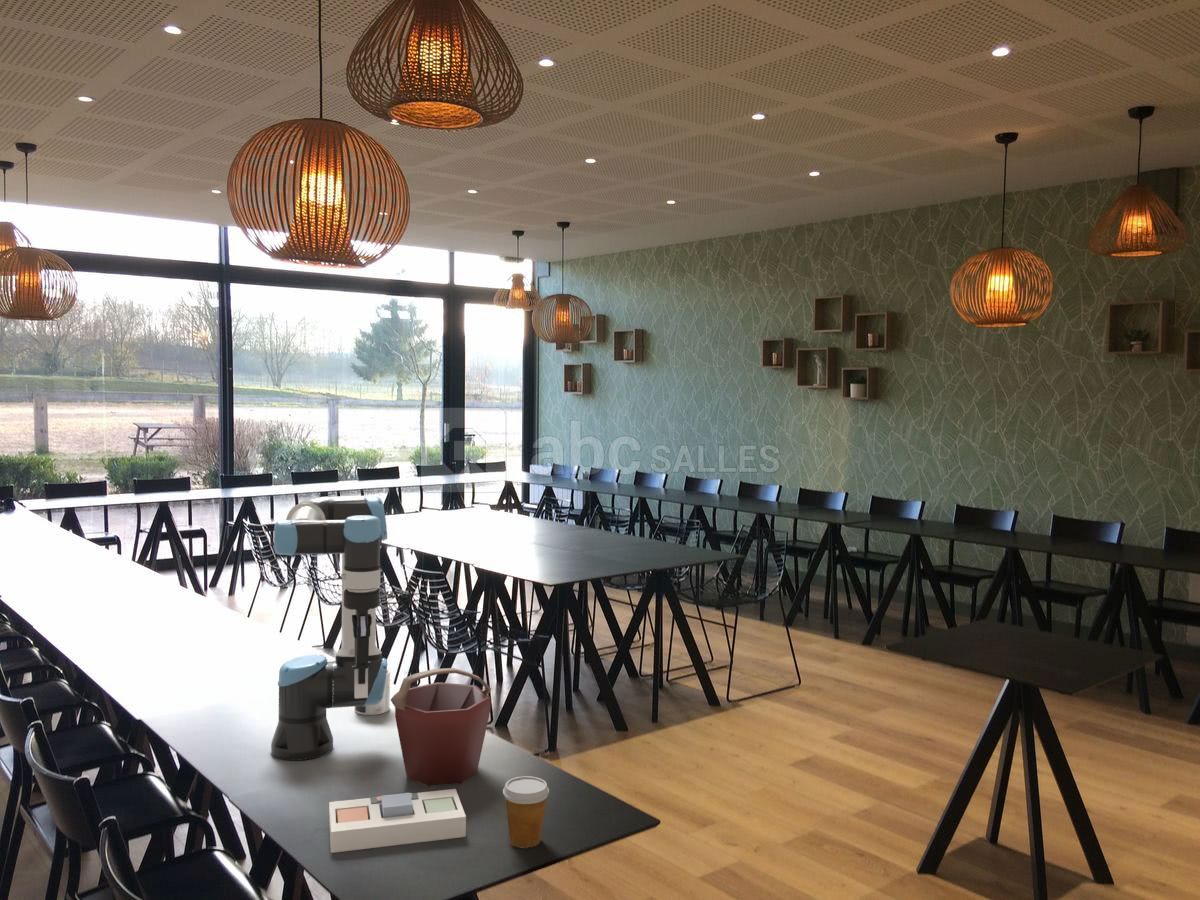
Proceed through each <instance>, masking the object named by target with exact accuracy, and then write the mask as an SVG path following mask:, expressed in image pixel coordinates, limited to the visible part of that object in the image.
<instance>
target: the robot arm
mask: <svg viewBox="0 0 1200 900" xmlns="http://www.w3.org/2000/svg"><path fill="white" fill-rule="evenodd" d="M386 519H387V518H386V513H385V507H384V503H383V500H382V499H381V498H380V497H379V496H374V495H373V496H371V495H354V496H353V495H351V496H350V495H349V496H348V495H345V496H343V495H342V496H341V495H340V496H338V495H337V496H335V495H334V496H330V495H329V496H327V495H326V496H316V497H312V498H309V499H307V500H304V501H301V502H299V503H297V504H295V506H293V507H292V508H290V510H289V511H288V513H287V516H286V519H285V520H278V521H276V522H275V524H274V526H273V527H274V528H273V548H274V552H275V554H276V555H279V556H280V555H281V556H284V555H285V556H297V555H300V556H301V555H321V554H322V555H335V554H336V555H337V554H338V555H340V554H341V574H340V578H341V647H340V649H338V650H337V652H336V653H335V661H334V660H333V661H328V658H327V656H326V655H323V654H309V655H302V656H298V657H295V658H292V659H290V660H288V661H286V662H284V663H283V664H282V665H281V666H280V668H279V671H278V681H277V686H278V722H277V726H276V727H275V728H276V729H275V731H274V733H273V737H272V740H271V744H270V752H271V754H272V756H274V757H275V758H277V759H280V760H284V761H285V760H286V761H303V760H311V759H315V758H319V757H323V756H325V755H327V754H328V753H330V752H331V751H332V750H333V748H334V737H333V734H332V730H331V728H330V724H329V721H328V718H327V709H335V708H336V709H337V708H338V709H339V708H349V707H351V708H352V707H355V706H362V707H364V706H368V705H376V704H378V703H380V702H381V700H382V698H383V694H384V689H385V682H386V674H387V669H388V659H387V658H385V657H383V655H382V651H381V650H380V649H379V648H378V647H377V645H376V644H377V643H376V639H377V638H376V637H377V629H376V626H377V624H376V623H377V622H376V620H377V612H376V611H377V609H376V608H378V607H380V605H381V604H380V603H381V591H380V589H379V588H380V587H381V548H382V544H383V543H382V541H386V540H387V539H388V529H387V528H388V527H387V526H388V525H387V520H386Z"/></svg>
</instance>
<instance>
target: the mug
mask: <svg viewBox="0 0 1200 900" xmlns="http://www.w3.org/2000/svg"><path fill="white" fill-rule="evenodd" d="M390 685H391V671H390V669H389V668H387V674H386V682H385V689H384V694H383V698H382V700H381V702H380V703H378V704H376V705H368V706H364V707H362V706H354V712H355V713H356V714H359V715H363V716H376V715H377V716H378V715H381V714H384V713H387V712H388V711H389V710H390V706H391V705H390V703H391V702H390V701H391V697H390V696H391V695H390V694H391V692H390V691H391V687H390Z"/></svg>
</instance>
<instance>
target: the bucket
mask: <svg viewBox="0 0 1200 900" xmlns="http://www.w3.org/2000/svg"><path fill="white" fill-rule="evenodd" d="M442 674H443V675H444V674H458V675H461V676H465V677H468V678H471V679H473V680H476V681H479V683H480V684H481V685H483V687H484V688H483V689H481V688H480V687H479V686H477V685H475V684H474V685H473V684H462V683H450V682H441V681H439V682H434V683H428V684H424V685H420V686H414V687H411V685H412V683H415V682H417V681H420V680H422V679H425V678H429V677H432V676H435V675H442ZM491 691H492V688H491V687H490V686H489V684H488V683H486V682H485V681H484V680H483V679H482V678H481V677H479V675H476V674H473V673H471V672H469V671H466V670H462V669H458V668H455V667H449V668H448V667H447V668H446V667H445V668H434V669H428V670H425V671H421V672H418V673H413V674H411V675H409V676H407V677H404V678H403V680H402V683H401V685H400V688H399V690H398V691H397V692H396V693H395V694H394V695H393V696H392V697H390V701H391V702H390V703H392V705H393V707H394V718H395V722H396V728H397V733H398V738H399V744H400V750H401V755H402V758H403V759H402V760H403V765H404V770H405V775H406V778H407V779H408V780H411V781H413V782H417V783H418V784H422V785H424V786H425V787H426V786H427V787H434V786H435V787H436V786H437V787H438V786H446V785H447V786H448V785H458V784H459V785H460V784H463V783H464V782H465V781H466V780H468V779H470V777H472V776H474V775H475V774H476V773H478V769H479V766H480V759H481V754H482V750H483V746H484V742H485V737H486V732H487V727H488V724H489V719H490V713H491V709H492V708H491V699H492V697H491V696H490V695H489V694H490V693H491Z"/></svg>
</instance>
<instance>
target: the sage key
mask: <svg viewBox="0 0 1200 900" xmlns="http://www.w3.org/2000/svg"><path fill="white" fill-rule="evenodd" d="M424 810H425V813H433V812H442V811H451V810H456V809H455V806H454V803H453V800H452V798H445V799H436V800H427V801H424Z"/></svg>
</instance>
